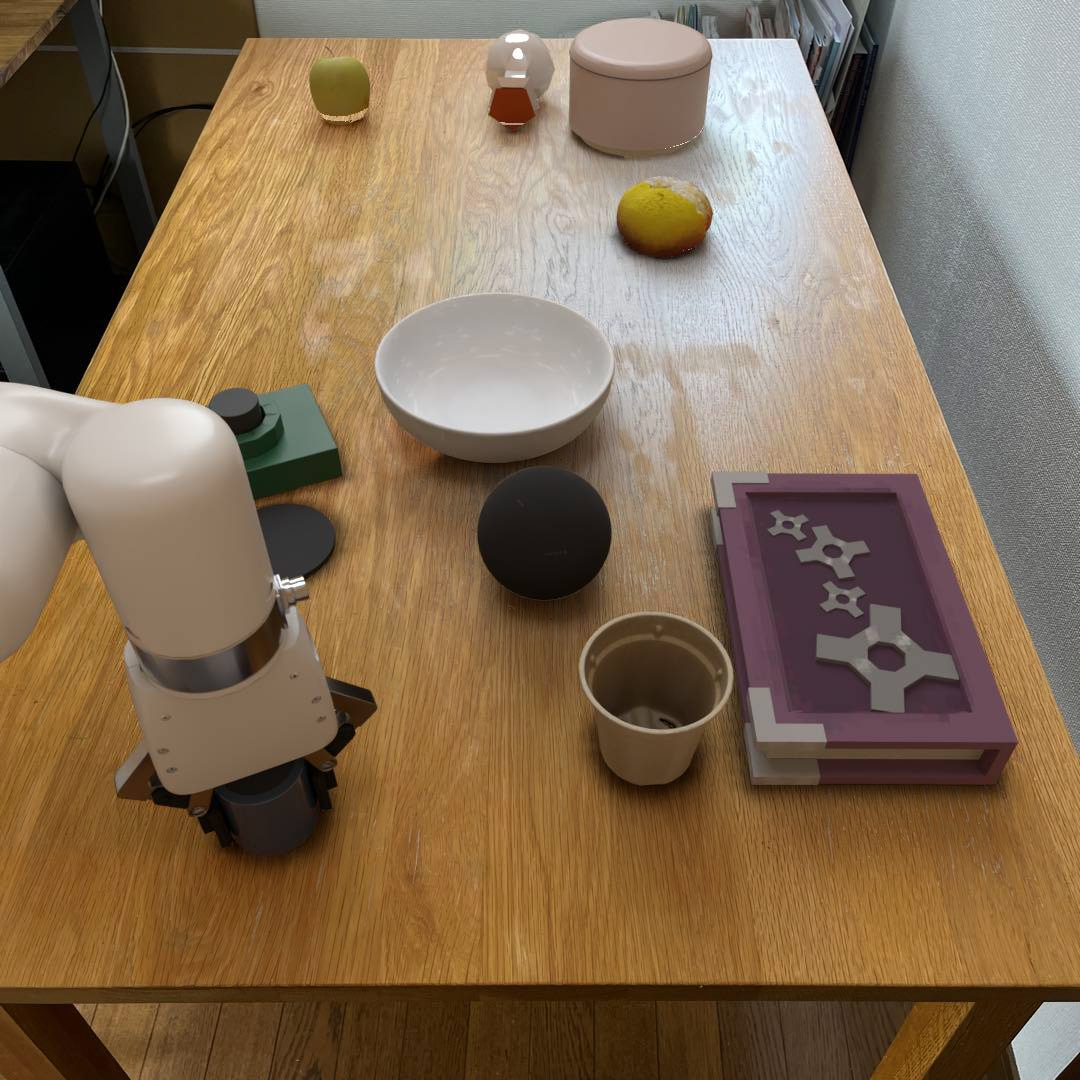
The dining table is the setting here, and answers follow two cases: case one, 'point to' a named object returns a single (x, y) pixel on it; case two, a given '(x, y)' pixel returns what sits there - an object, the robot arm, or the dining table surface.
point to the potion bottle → (517, 76)
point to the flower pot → (653, 692)
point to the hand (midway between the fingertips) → (272, 808)
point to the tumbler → (271, 808)
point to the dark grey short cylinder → (237, 409)
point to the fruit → (663, 217)
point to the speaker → (544, 533)
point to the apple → (339, 87)
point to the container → (638, 86)
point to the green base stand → (288, 444)
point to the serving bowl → (494, 375)
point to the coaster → (296, 538)
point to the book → (852, 634)
